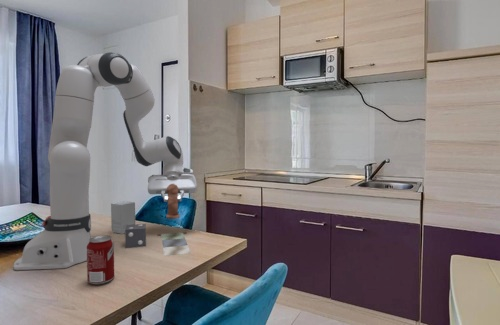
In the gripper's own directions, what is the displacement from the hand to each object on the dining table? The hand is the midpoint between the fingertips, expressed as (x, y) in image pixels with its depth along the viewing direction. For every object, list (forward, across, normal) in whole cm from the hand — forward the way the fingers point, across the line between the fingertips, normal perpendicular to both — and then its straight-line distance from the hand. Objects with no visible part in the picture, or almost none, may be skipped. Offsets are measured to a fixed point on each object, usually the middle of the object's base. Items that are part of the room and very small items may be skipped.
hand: (172, 200), depth 126 cm
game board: (+17, +1, +5) cm, 17 cm away
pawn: (+4, 0, +5) cm, 7 cm away
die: (+16, -14, +5) cm, 22 cm away
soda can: (+38, -18, -16) cm, 45 cm away
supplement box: (+1, -22, +21) cm, 30 cm away
